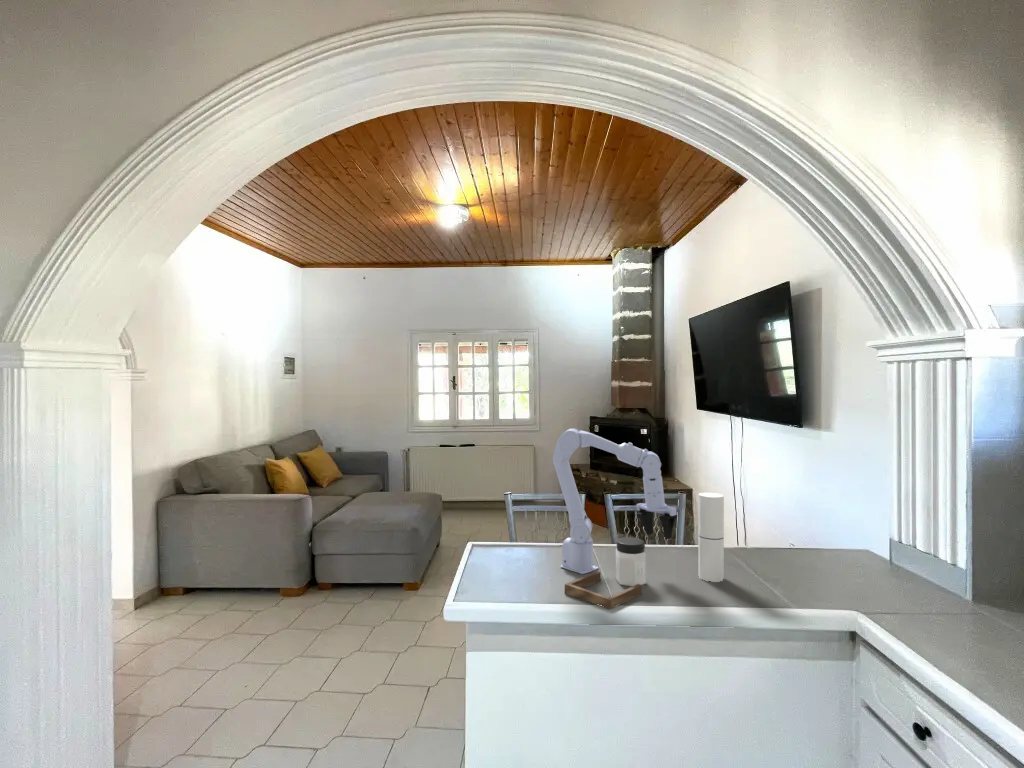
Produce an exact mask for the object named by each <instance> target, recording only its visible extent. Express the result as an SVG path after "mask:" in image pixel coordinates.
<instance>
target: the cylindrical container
mask: <svg viewBox="0 0 1024 768" xmlns="http://www.w3.org/2000/svg"><path fill="white" fill-rule="evenodd" d="M724 501H725V497H724V494H722V493H718V492H711V491H710V492H699V493H698V548H697V549H698V551H697V552H698V554H697V555H698V557H697V558H698V569H697V570H698V576H699V577H698V579H699V580H702V579H703V580H702V581H704V580H705V582H708V581H711V582H710V583H721V582H723V581H724V580H723V579H724V578H725V577H724V576H725V575H724V574H725V573H724V568H725V566H724V565H725V564H724V563H725V561H724V559H725V558H724V557H725V554H724V552H725V550H724V549H725V548H724V547H725V544H724V543H725V539H724V538H725V537H724V536H725V535H724V534H725V533H724V531H725V530H724V529H725V527H724V525H725V523H724V522H725V521H724V520H725V509H724V508H725V507H724V506H725V502H724ZM720 581H721V582H720Z"/></svg>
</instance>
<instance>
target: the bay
mask: <svg viewBox="0 0 1024 768" xmlns="http://www.w3.org/2000/svg"><path fill="white" fill-rule="evenodd" d="M600 581H602V580H601V571H598V570H596V571H595V572H592V573H589V574H585V575H584V576H582V577H579V578H576V579H574V580H572V581H569V582H567V583H564V594H566V595H569V596H572V597H574V596H575V598H577V599H579V600H583V601H585V600H586V602H588V601H589V602H588V603H591V602H592V603H591V604H594V603H595V604H594V605H596V604H599V605H602V606H604V607H606V608H605V609H607V610H611V608H612V607H614V606H616V605H618V604H620V605H622V604H623V602H624V603H626V602H628V601H630V600H632V599H634V597H635V598H636V596H637V597H638V595H639V596H641V595H642V594H643V593H642V591H643V589H642V588H643V587H642V586H643V585H640V584H637V585H635V586H629V588H627V589H623V590H622V591H619V592H617V593H615V594H612V595H611V596H606V595H603V594H601V593H598V592H594V591H592V590H589V589H586V587H589V586H591V585H593V584H596V583H598V582H600ZM640 594H641V595H640ZM627 600H628V601H627ZM625 601H626V602H625ZM621 603H622V604H621ZM599 605H598V606H599ZM602 606H601V607H602ZM618 606H619V605H618ZM604 607H603V608H604ZM616 607H617V606H616ZM614 608H615V607H614ZM612 609H613V608H612Z"/></svg>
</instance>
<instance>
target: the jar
mask: <svg viewBox="0 0 1024 768" xmlns="http://www.w3.org/2000/svg"><path fill="white" fill-rule="evenodd" d="M645 549H646V543H645V541H644V540H643V539H641V538H637V537H632V536H631V537H630V536H629V537H627V536H626V537H619V538H617V539H616V548H615V579H616V581H617V583H618V584H619V585H622V586H627V587H628V586H629V587H632V586H635V585H637V584H640V585H642V584H643V585H645V584H647V583H646V582H647V581H646V580H647V579H646V578H647V574H646V572H647V567H646V566H647V565H646V564H647V560H646V559H647V557H646V556H647V555H646V553H647V552H646V551H645ZM643 585H642V586H643Z"/></svg>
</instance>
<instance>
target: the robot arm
mask: <svg viewBox="0 0 1024 768" xmlns="http://www.w3.org/2000/svg"><path fill="white" fill-rule="evenodd" d="M579 446H580V447H581V448H586V447H587V448H588V447H593V448H596V449H600V450H603V451H605V452H607V453H611V454H613V455H615V456H616V458H617V460H618V461H621V462H622V463H625V464H628V465H630V466H633V467H636V468H641V469H642V475H643V476H642V481H643V482H642V483H643V493H644V500H645V501H644V502H642V503H641V502H640V503H636V510H637V511H639V512H637V513H636V516H637V517H638V518H639V520H640V522H641V523H642V526H643V528H644V531H645V534H646V535H647V536H650V535H653V534H654V523H653V520H654V519H653V518H654V514H655V513H656V514H662V515H659V516H658V519H659V520H660V522H661V526H662V529H663V535H664V538H665V540H669V539H672V537H673V530H674V525H675V523H676V521H677V518H678V513H677V508H676V507H671V506H669V505H667V503H665V501H666V499H665V493H664V484H663V476H662V470H661V467H662V462H661V460H660V456H658V454H657V453H655V452H653V451H649V450H648V449H647V448H644V449H643V448H639V447H637V446H635V445H633V443H632V442H630V441H629V442H628V443H626V442H623V443H621V444H617V443H615V442H613V441H611V440H609V439H606V438H604V437H602V436H599V435H596V434H595V433H592V432H589V431H586V430H579V429H577V428H571V427H570V428H568V429H567V430H565V431H563V432H562V434H561V435H560V436H559V438H557V441H556V445H555V448H554V451H553V455H552V463H553V466H554V470H555V473H556V477H557V479H558V483H559V487H560V489H561V493H562V496H563V499H564V503H565V507H566V510H567V513H568V520H569V524H570V525H569V526H570V529H569V536H570V537H567V538H566V539H564V541H563V542H562V544H561V545H562V546H561V565H560V568H563V569H566V570H568V571H571V572H575V573H578V574H581V575H587V574H588V573H590V572H593V571H597V570H599V569H600V567H599V566H597V565H594V548H593V547H594V539H593V538H592V536H591V533H592V530H593V522H592V521H591V519H590V518H589V517H588V516H587V513H586V511H585V509H584V506H583V503H582V500H581V497H580V494H579V491H578V487H577V484H576V480H575V477H574V475H573V471H572V468H571V464H570V462H569V460H570V458H571V456H572V455H573V453H574V452H575V451H576V450H577V449H578V448H579Z"/></svg>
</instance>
